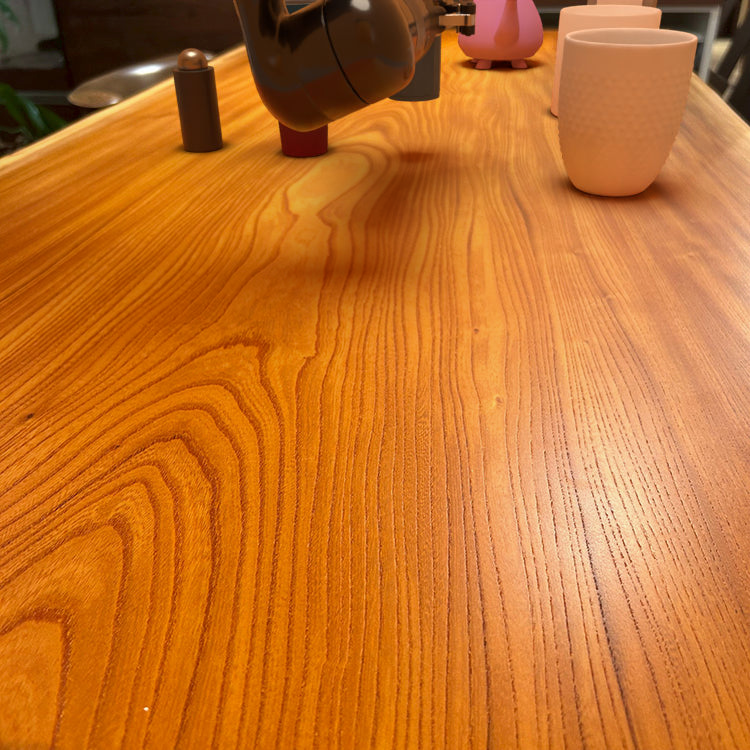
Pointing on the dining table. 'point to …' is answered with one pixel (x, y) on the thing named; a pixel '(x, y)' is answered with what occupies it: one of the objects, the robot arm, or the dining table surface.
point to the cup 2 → (598, 19)
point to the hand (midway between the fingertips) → (417, 8)
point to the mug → (621, 105)
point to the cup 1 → (296, 140)
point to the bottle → (424, 77)
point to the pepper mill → (197, 102)
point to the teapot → (503, 33)
